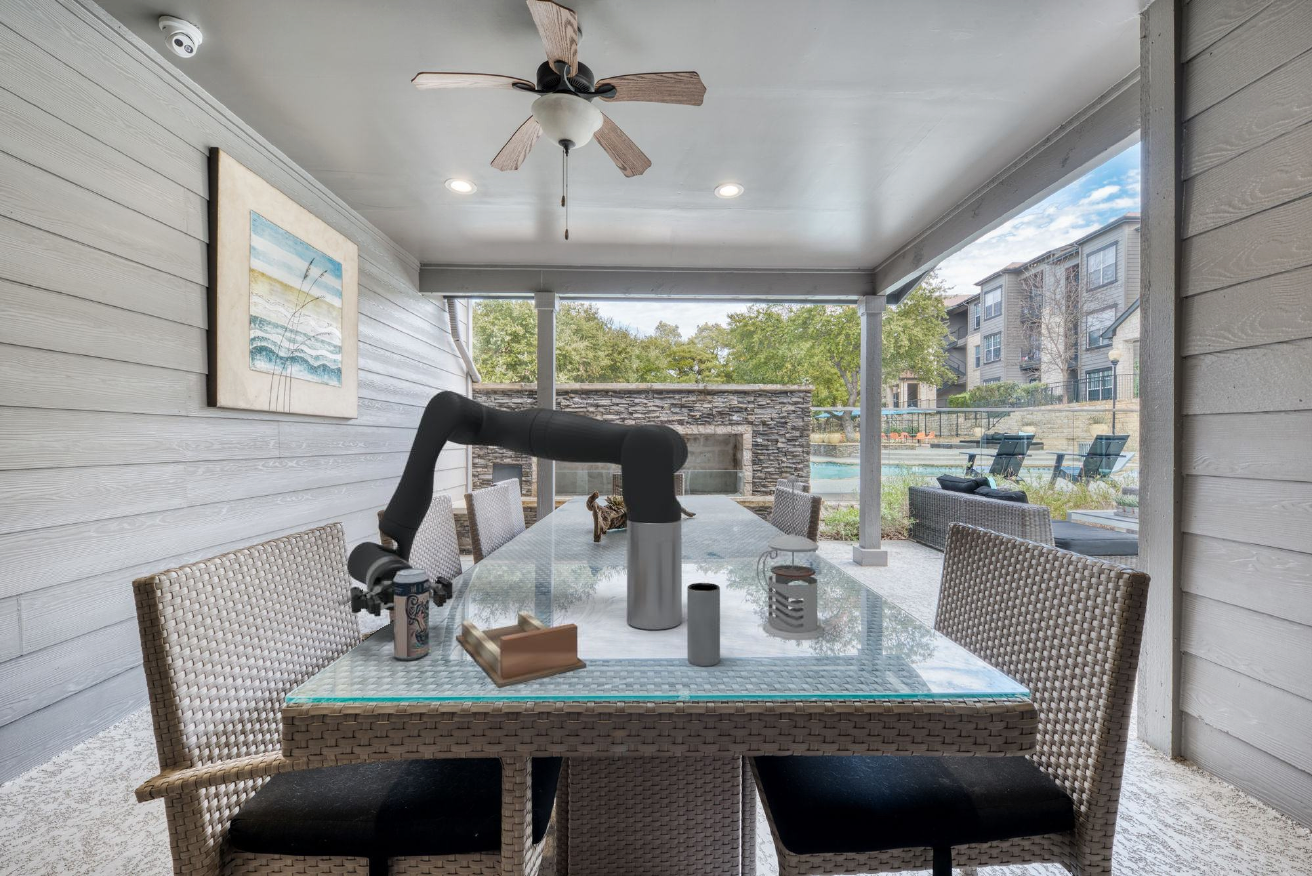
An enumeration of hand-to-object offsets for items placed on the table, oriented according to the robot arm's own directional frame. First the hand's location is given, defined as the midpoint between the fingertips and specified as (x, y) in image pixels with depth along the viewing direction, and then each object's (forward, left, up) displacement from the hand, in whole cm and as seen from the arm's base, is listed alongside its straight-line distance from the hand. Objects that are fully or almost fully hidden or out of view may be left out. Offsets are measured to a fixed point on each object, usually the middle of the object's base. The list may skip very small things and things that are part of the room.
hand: (410, 604), depth 85 cm
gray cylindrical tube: (-17, +39, -7) cm, 43 cm away
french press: (-36, +46, -7) cm, 58 cm away
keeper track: (-7, +14, -7) cm, 17 cm away
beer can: (+1, +1, -7) cm, 7 cm away
